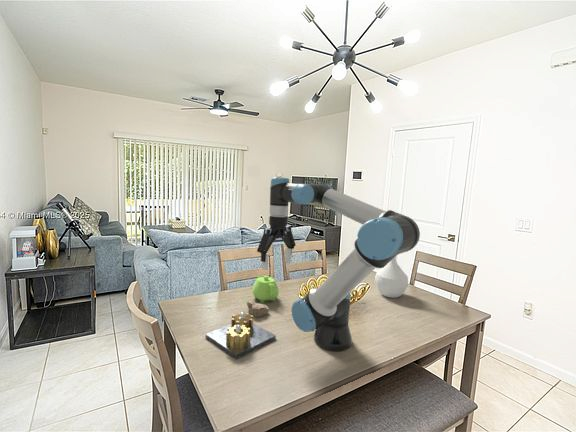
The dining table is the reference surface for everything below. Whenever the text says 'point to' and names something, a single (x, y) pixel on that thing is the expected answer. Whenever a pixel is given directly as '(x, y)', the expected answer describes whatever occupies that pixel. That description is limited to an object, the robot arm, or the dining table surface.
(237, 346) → the planet gear
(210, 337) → the plate
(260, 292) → the teapot
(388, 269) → the vase
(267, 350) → the dining table surface
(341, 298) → the robot arm
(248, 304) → the stone
